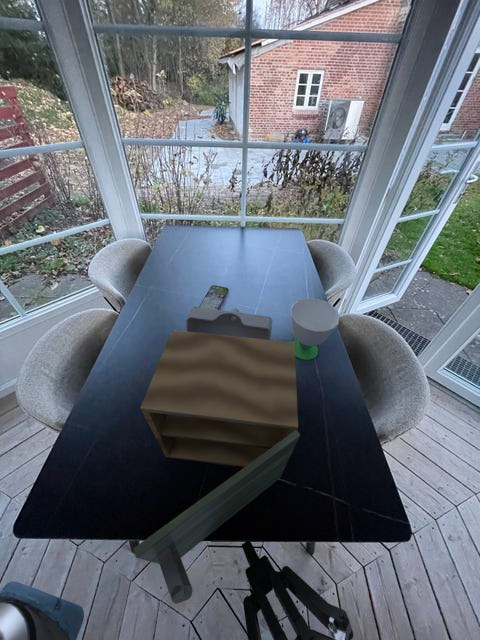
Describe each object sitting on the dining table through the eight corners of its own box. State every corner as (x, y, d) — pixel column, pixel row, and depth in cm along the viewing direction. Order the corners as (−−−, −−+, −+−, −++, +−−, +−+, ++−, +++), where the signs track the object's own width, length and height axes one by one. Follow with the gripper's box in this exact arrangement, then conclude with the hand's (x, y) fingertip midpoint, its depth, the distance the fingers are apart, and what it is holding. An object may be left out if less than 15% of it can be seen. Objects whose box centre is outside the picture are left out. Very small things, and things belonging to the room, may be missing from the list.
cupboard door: (298, 504, 56) (328, 469, 39) (183, 606, 45) (154, 620, 28) (277, 473, 60) (296, 429, 43) (167, 560, 49) (133, 548, 32)
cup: (332, 362, 82) (349, 327, 71) (290, 369, 80) (300, 334, 69) (315, 330, 91) (327, 295, 80) (277, 336, 89) (284, 300, 78)
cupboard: (279, 472, 60) (298, 427, 43) (165, 457, 62) (140, 408, 44) (279, 399, 73) (294, 342, 55) (185, 389, 74) (171, 330, 57)
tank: (270, 329, 91) (274, 302, 83) (265, 367, 80) (270, 340, 71) (200, 319, 94) (197, 292, 85) (186, 354, 83) (181, 327, 74)
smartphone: (229, 288, 106) (217, 312, 95) (229, 290, 106) (217, 314, 96) (211, 284, 107) (197, 308, 96) (211, 287, 108) (198, 310, 97)
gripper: (310, 898, 19) (219, 596, 41) (424, 740, 24) (287, 545, 46) (277, 813, 19) (203, 554, 41) (401, 668, 23) (274, 506, 45)
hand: (248, 549), depth 43 cm, fingers closed
